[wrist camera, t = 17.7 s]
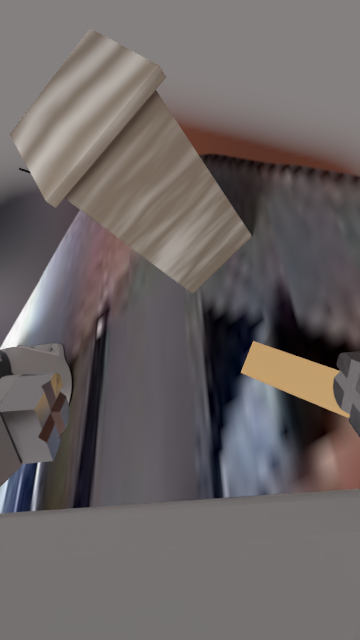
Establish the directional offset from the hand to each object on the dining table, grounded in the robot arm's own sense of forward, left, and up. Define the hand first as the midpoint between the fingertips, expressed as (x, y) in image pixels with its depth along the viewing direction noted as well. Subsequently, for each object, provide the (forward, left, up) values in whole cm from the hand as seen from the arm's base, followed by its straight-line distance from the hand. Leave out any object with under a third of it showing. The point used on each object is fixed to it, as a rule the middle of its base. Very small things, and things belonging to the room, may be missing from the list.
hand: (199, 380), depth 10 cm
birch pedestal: (-23, +23, -31) cm, 45 cm away
